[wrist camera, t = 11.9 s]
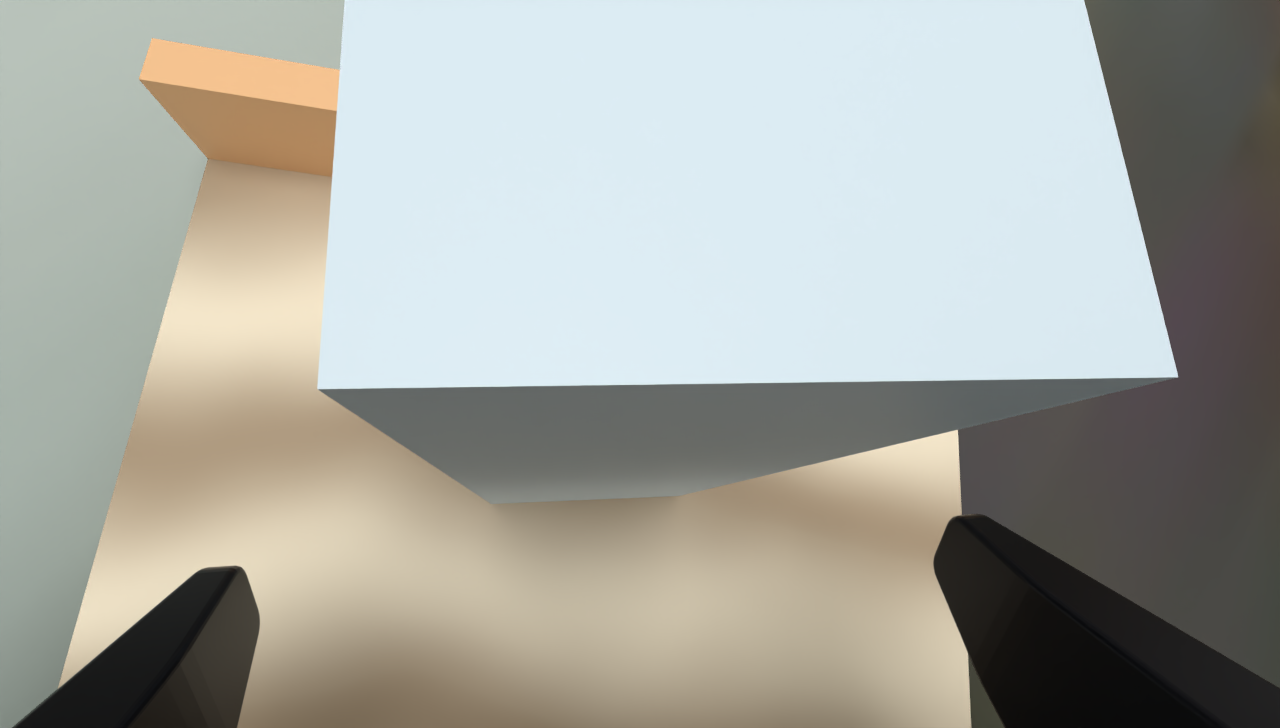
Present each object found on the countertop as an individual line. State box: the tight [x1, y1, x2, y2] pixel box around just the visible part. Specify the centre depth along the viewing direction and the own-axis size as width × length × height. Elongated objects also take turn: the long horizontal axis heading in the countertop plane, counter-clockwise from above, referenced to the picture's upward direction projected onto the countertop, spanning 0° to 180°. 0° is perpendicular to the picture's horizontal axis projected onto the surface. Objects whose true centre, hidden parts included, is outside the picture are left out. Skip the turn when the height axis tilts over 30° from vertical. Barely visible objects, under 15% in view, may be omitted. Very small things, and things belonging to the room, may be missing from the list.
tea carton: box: [317, 0, 1178, 504], centre depth 10 cm, size 4×4×13 cm
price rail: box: [139, 38, 340, 177], centre depth 16 cm, size 1×20×3 cm, turn 85°
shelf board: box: [58, 159, 971, 728], centre depth 17 cm, size 16×20×2 cm
